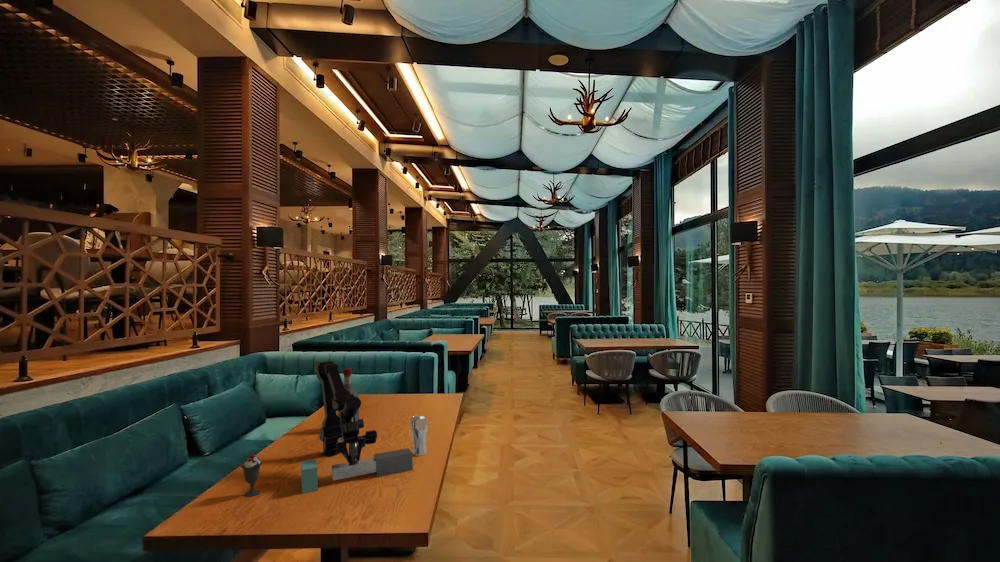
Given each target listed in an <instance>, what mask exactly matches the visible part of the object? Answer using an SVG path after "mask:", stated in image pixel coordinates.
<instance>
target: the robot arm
mask: <svg viewBox="0 0 1000 562" xmlns="http://www.w3.org/2000/svg"><path fill="white" fill-rule="evenodd" d="M314 373H315V374H316V378H317V379H318V380H319V381H320V383H321V389H322V390H321V392H322V399H323V400H322V401H323V410H324V418H323V421H322V423H321V429H320V432H319V434H318V438H319V440H320V442H322V444H323V446H322V448H323V449H322V450H323V452H321V453H320V455H322V456H327V457H333V456H336V455H338V454H341V455H342V456H343V457H344V458H345V460H346V461H347V463H350V458H349V449H348V446H347V444H349V443H350V442H357V450H358V461H359V460H361V453H362V449H363V448H365V447H366V445H372V444H376V442H377V439H378V432H377V430H376V429H372V430H367V431H365V432H364V433H365V434H363V435H360V429H364V427H365V423H364V422H365V421H364V418H359V419H358V421H356V418H355V415H356V414H357V413H358V410H359V411H360V407H361V406H362V401H361V399H360V397H359V398H357V397H355V396H354V395H353V394H350V392H349V391H348V390H346V389H345V387H344V381H343V379H342V376H341V373H340V371H339V365H338V362H334V361H333V360H325V361H319V362H316V365H314ZM342 410H343V411H342ZM338 411H342V412H341V413H340V417H338V413H337V412H338Z"/></svg>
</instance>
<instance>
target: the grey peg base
mask: <svg viewBox="0 0 1000 562" xmlns="http://www.w3.org/2000/svg"><path fill="white" fill-rule="evenodd" d="M357 444H358V443H357V442H350V443H348V454H349V458H350V463H348V462H343V463H338V464H332V465H331V478H332V481H337V480H343V479H347V478H353V477H358V476H363V475H368V474H373V473H375V472H377V467H376V459H375V458H374V457H371V458H366V459H360V460H359V461H358V450H357Z"/></svg>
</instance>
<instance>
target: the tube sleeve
mask: <svg viewBox="0 0 1000 562" xmlns="http://www.w3.org/2000/svg"><path fill="white" fill-rule="evenodd" d="M412 453H413V451H412V450H411V449H410V448H409V447H407V448H402V449H396V450H395V449H394V450H391V451H384V452H378V453H374V454H373V458H375V459H376V467H377V472H374V473H375V475H376V478H378V477H384V476H388V475H394V474H400V473H404V472H409V471H414V462H413V461H414V460H413V454H412Z"/></svg>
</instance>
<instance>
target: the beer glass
mask: <svg viewBox="0 0 1000 562" xmlns="http://www.w3.org/2000/svg"><path fill="white" fill-rule="evenodd" d="M427 418H428V417H427V416H426V415H414V416H412V417H410V435H411V440H412V456H415V457H421V456H424V455H427V454H428V450H427V436H428V420H427Z"/></svg>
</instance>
